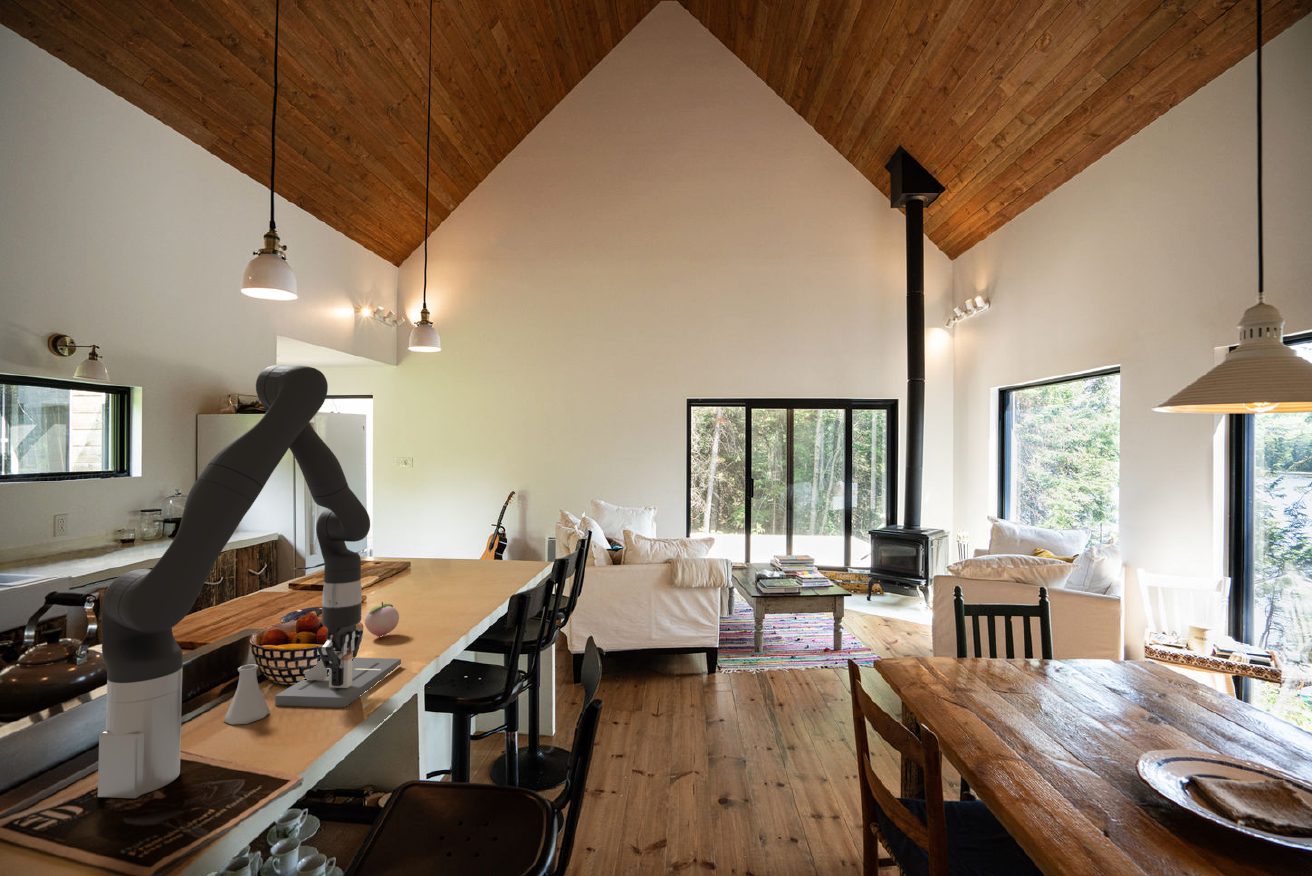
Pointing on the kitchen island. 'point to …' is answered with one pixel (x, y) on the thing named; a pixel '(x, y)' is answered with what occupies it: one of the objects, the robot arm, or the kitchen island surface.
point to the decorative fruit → (382, 619)
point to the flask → (247, 698)
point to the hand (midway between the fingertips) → (340, 683)
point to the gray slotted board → (322, 695)
